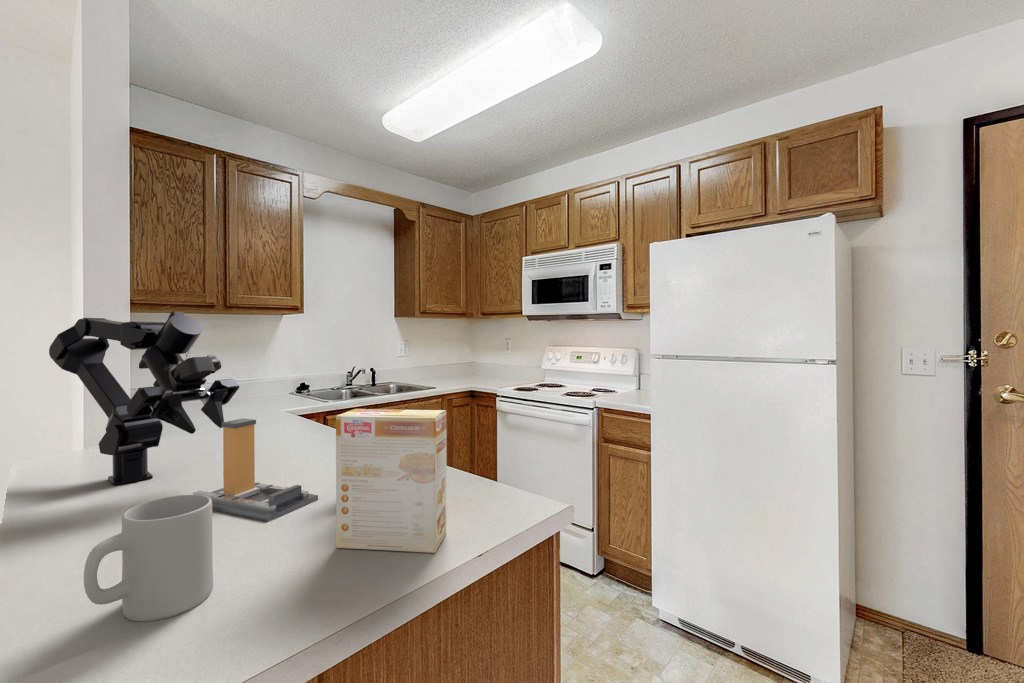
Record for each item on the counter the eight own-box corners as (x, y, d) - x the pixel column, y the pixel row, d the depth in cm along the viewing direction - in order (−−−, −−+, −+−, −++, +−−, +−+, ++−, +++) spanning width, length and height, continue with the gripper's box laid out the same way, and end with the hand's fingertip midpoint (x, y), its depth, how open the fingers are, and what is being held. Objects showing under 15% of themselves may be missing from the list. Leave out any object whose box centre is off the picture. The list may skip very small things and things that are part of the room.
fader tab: (218, 497, 85) (217, 422, 85) (241, 489, 90) (241, 418, 89) (236, 500, 83) (236, 424, 83) (259, 492, 88) (259, 419, 88)
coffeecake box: (447, 533, 73) (447, 409, 72) (435, 554, 65) (436, 417, 65) (355, 528, 74) (355, 407, 74) (334, 549, 67) (334, 414, 67)
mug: (188, 574, 60) (188, 489, 60) (228, 591, 56) (228, 501, 56) (66, 626, 49) (65, 523, 49) (105, 651, 45) (104, 540, 45)
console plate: (185, 504, 84) (185, 487, 84) (240, 486, 94) (240, 470, 94) (268, 521, 76) (268, 502, 76) (318, 499, 87) (318, 482, 87)
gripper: (136, 342, 82) (178, 409, 78) (233, 341, 99) (271, 395, 96) (108, 385, 85) (148, 450, 81) (207, 376, 102) (244, 430, 99)
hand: (208, 429), depth 89 cm, fingers open, 5 cm apart
